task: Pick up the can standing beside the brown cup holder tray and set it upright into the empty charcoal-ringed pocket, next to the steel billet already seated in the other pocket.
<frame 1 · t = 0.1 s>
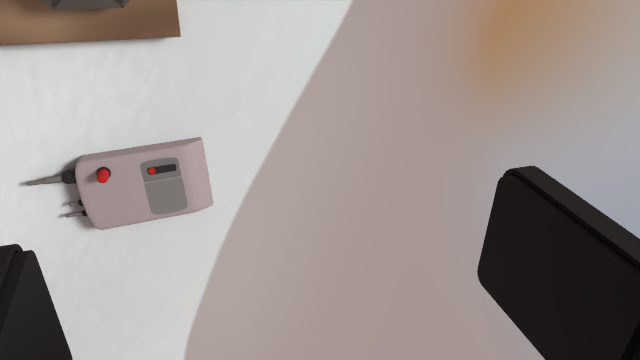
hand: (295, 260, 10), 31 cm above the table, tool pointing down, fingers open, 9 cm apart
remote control: (136, 179, 42), on the table
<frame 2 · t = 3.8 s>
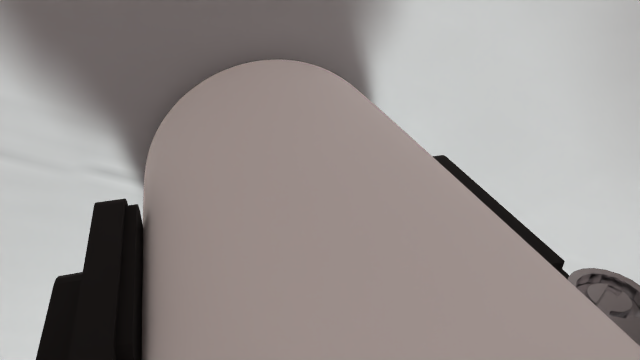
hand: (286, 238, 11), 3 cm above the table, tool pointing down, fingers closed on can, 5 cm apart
can: (267, 167, 13), on the table, touching gripper
when the fingers open (6 cm above the table, at t = 10.3 s): can drops 1 cm, resting on brown cup holder tray.
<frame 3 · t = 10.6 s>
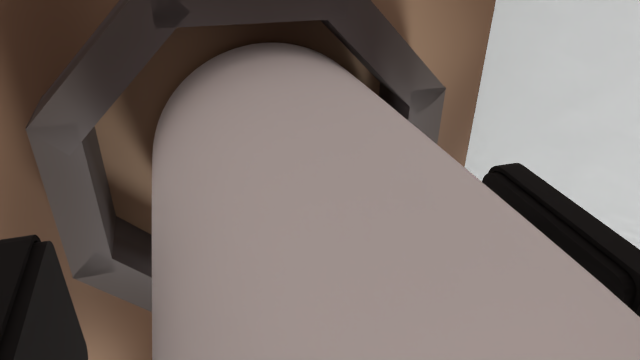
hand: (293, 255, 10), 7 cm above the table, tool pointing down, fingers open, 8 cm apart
can: (265, 145, 15), point 1 cm above the table, touching brown cup holder tray
brown cup holder tray: (252, 281, 19), on the table
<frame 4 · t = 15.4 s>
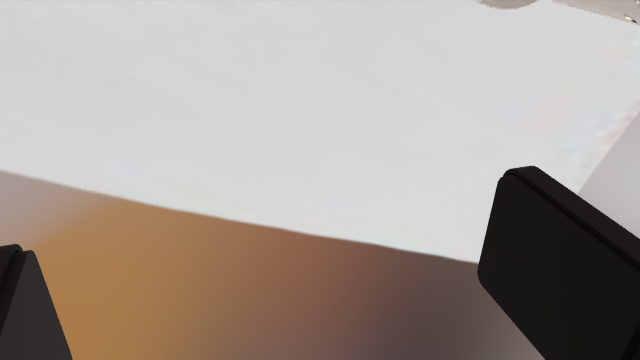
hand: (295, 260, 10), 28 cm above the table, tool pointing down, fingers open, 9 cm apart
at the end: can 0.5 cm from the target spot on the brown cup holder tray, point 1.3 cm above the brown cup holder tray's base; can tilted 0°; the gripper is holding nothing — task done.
